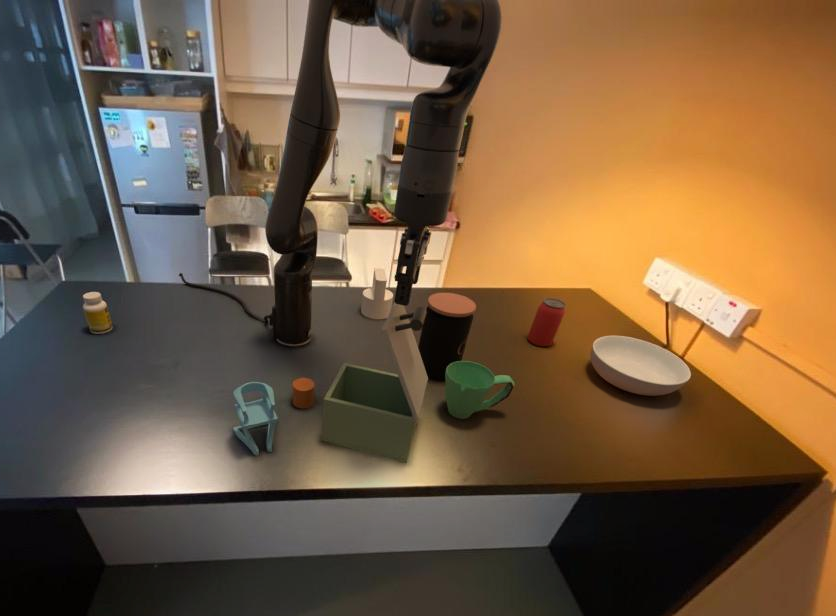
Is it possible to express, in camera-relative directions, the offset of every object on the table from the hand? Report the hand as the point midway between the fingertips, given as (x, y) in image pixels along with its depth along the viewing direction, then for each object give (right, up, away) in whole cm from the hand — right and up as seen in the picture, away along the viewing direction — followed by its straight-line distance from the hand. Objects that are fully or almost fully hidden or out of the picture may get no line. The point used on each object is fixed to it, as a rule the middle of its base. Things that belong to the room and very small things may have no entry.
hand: (406, 292), depth 68 cm
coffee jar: (+14, -11, +37) cm, 41 cm away
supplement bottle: (-73, 0, +44) cm, 85 cm away
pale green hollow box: (-4, -24, +18) cm, 30 cm away
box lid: (+1, -10, +6) cm, 12 cm away
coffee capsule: (-18, -18, +24) cm, 35 cm away
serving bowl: (+61, -14, +38) cm, 73 cm away
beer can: (+46, -3, +51) cm, 69 cm away
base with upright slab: (+1, +7, +60) cm, 61 cm away
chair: (-26, -26, +14) cm, 39 cm away
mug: (+18, -21, +24) cm, 37 cm away
